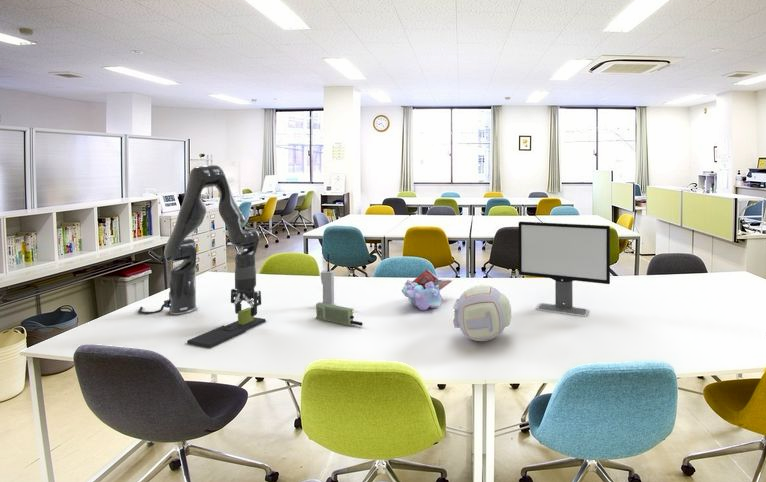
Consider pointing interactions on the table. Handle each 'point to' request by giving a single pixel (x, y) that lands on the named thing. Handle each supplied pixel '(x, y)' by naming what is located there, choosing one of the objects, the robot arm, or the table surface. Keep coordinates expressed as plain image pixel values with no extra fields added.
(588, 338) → the table surface
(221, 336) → the charcoal pad
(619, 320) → the table surface
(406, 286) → the lavender knobbly lump
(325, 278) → the vintage mobile phone
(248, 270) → the robot arm
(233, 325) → the black pad
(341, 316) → the handheld radio
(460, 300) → the paneled ball
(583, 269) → the computer monitor
